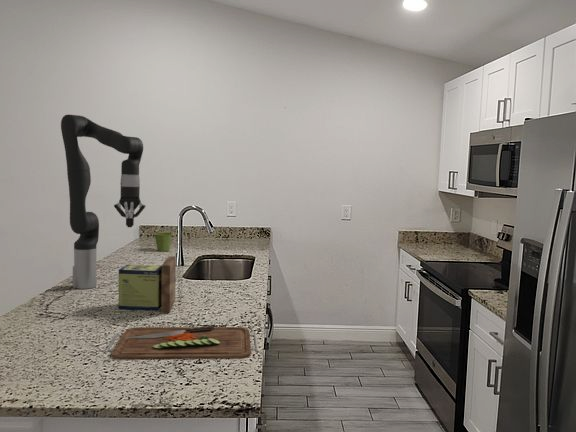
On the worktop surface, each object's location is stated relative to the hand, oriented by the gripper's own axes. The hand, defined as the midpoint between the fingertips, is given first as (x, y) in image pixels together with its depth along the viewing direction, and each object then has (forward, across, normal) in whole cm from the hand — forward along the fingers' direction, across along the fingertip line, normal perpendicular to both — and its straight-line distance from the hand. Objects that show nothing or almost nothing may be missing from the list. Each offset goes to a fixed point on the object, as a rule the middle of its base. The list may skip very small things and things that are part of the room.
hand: (129, 227), depth 216 cm
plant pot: (+30, +3, -115) cm, 119 cm away
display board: (+28, -19, +17) cm, 38 cm away
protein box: (+29, -9, +18) cm, 35 cm away
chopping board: (+29, -30, +60) cm, 73 cm away
